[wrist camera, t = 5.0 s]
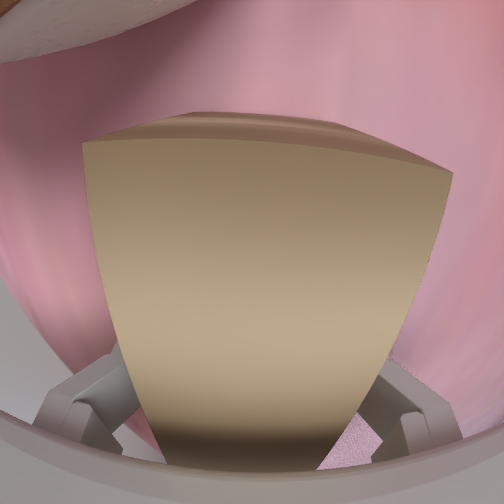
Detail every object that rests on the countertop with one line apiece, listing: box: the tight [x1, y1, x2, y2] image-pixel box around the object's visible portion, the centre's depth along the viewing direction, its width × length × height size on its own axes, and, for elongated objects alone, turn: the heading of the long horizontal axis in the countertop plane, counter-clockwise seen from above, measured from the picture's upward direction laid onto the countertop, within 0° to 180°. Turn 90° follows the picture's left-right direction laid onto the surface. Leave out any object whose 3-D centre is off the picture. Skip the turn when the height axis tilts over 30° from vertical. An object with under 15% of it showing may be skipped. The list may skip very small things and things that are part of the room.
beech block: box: [82, 112, 453, 472], centre depth 8 cm, size 12×4×6 cm, turn 176°
